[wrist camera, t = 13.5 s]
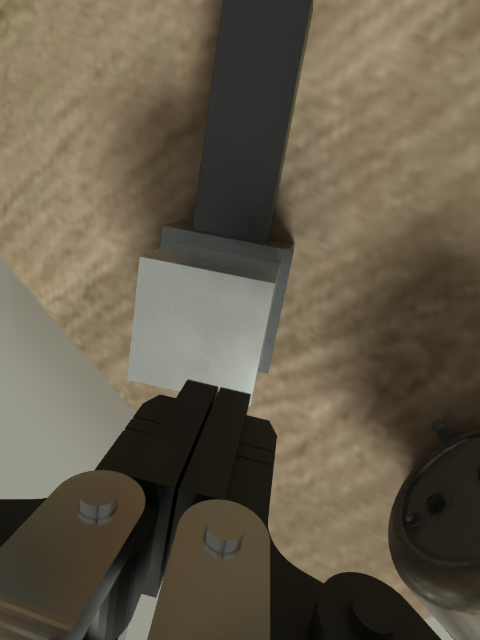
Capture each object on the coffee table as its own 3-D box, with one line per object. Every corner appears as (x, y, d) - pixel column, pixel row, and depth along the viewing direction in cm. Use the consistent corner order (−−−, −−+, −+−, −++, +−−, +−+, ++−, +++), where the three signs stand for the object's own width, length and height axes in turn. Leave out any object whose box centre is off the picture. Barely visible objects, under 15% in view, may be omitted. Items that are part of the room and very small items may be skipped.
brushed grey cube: (173, 242, 23) (139, 256, 18) (280, 263, 23) (275, 283, 18) (160, 342, 25) (127, 379, 20) (260, 364, 24) (250, 406, 20)
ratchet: (205, -6, 22) (172, -73, 16) (342, 14, 22) (357, -48, 16) (164, 331, 28) (128, 368, 22) (271, 354, 27) (263, 397, 22)
